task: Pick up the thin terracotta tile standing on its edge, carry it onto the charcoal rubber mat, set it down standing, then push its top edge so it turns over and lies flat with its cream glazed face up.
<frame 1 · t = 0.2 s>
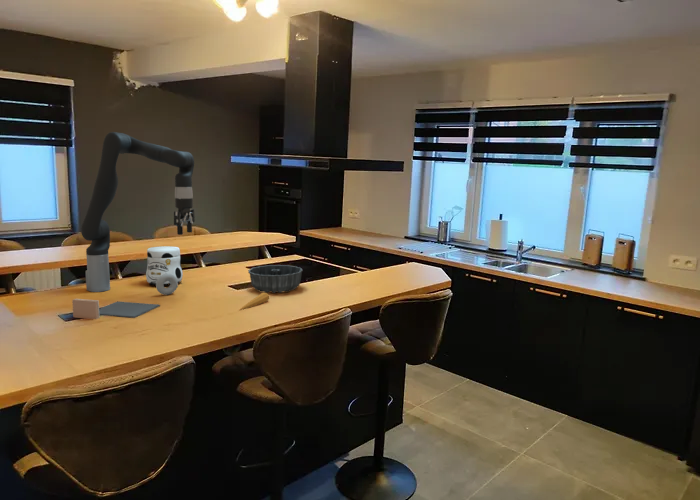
hand: (184, 233, 226), 29 cm above the counter, tool pointing down, fingers open, 8 cm apart
milk container: (164, 284, 254), on the counter
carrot: (252, 306, 218), on the counter
mat: (125, 309, 207), on the counter
bundt pan: (275, 289, 248), on the counter
donut: (167, 295, 233), on the counter
tile: (86, 317, 196), on the counter
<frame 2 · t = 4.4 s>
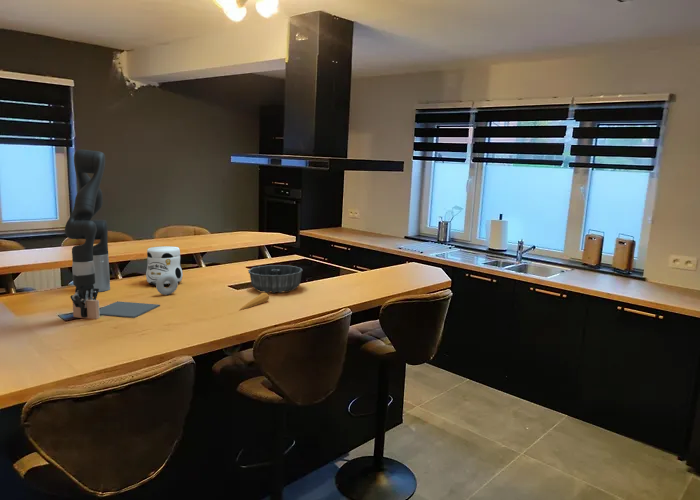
hand: (86, 316, 196), 1 cm above the counter, tool pointing down, fingers closed on tile
tile: (86, 317, 196), on the counter, touching gripper
everything else where it was.
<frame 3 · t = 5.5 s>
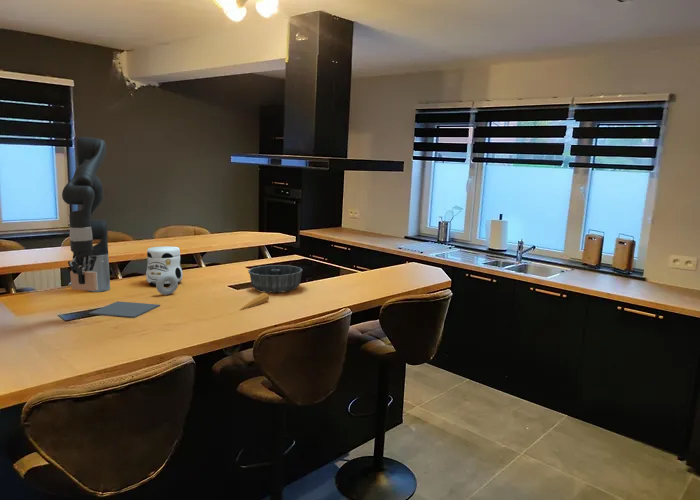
hand: (84, 283, 194), 14 cm above the counter, tool pointing down, fingers closed on tile, 1 cm apart
tile: (84, 289, 194), point 11 cm above the counter, touching gripper
everything else where it was.
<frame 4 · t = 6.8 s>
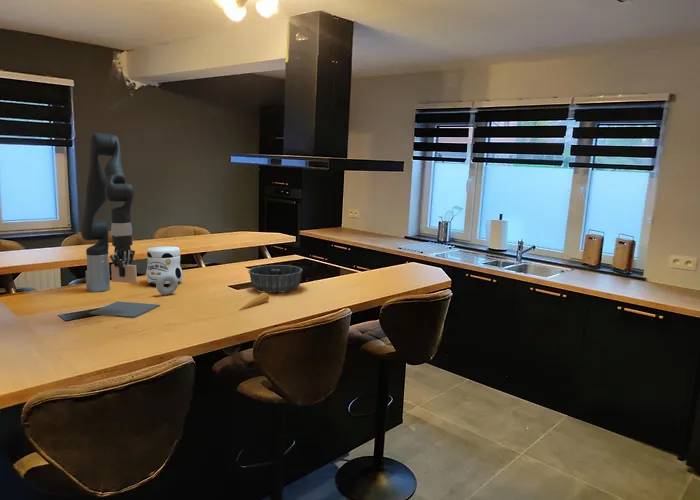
hand: (124, 276, 205), 14 cm above the counter, tool pointing down, fingers closed on tile, 1 cm apart
tile: (124, 281, 205), point 12 cm above the counter, touching gripper
everything else where it was.
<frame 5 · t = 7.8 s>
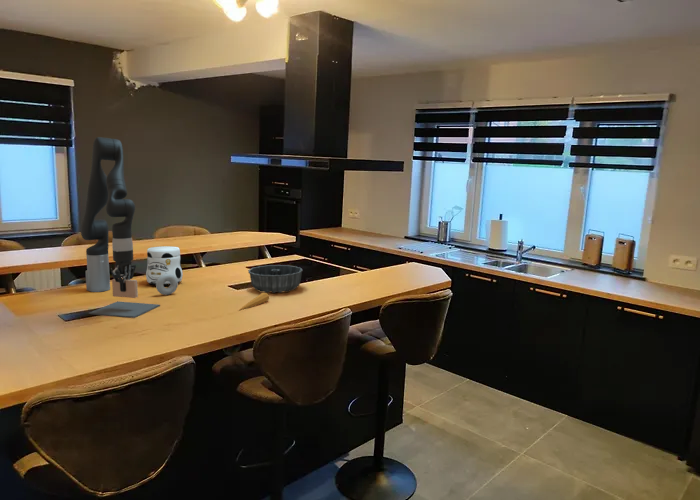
hand: (124, 290, 206), 8 cm above the counter, tool pointing down, fingers closed on tile, 1 cm apart
tile: (125, 296, 206), point 6 cm above the counter, touching gripper
everything else where it was.
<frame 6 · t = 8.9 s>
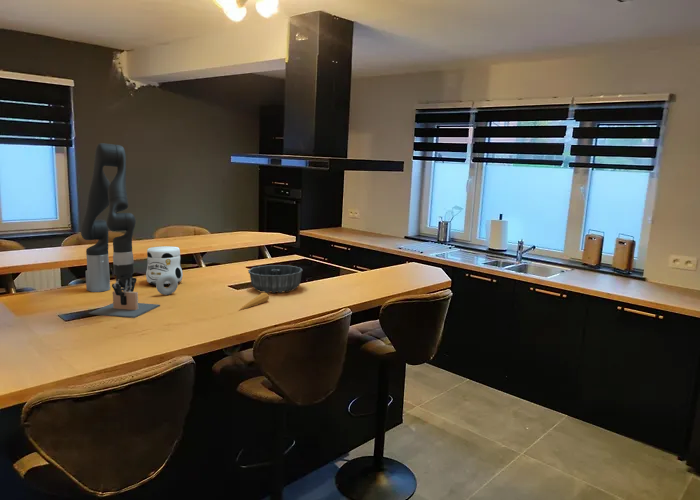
hand: (125, 303, 206), 3 cm above the counter, tool pointing down, fingers closed on tile, 2 cm apart
tile: (125, 308, 207), point 1 cm above the counter, touching gripper, mat
everything else where it was.
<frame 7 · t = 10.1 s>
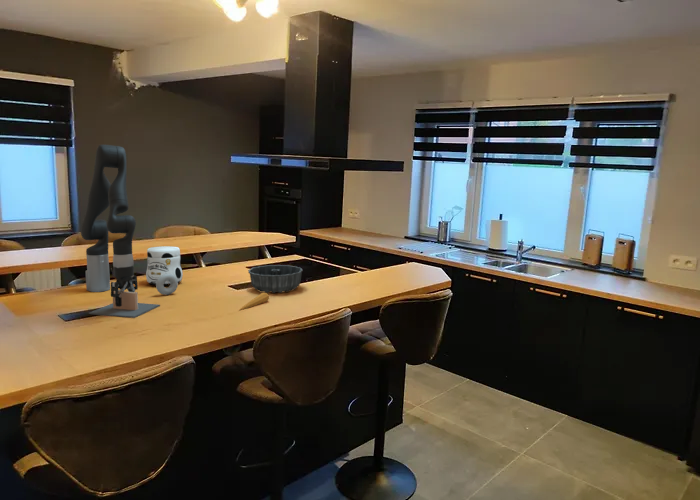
hand: (125, 303, 206), 3 cm above the counter, tool pointing down, fingers open, 8 cm apart
tile: (125, 308, 207), point 1 cm above the counter, touching mat
everything else where it was.
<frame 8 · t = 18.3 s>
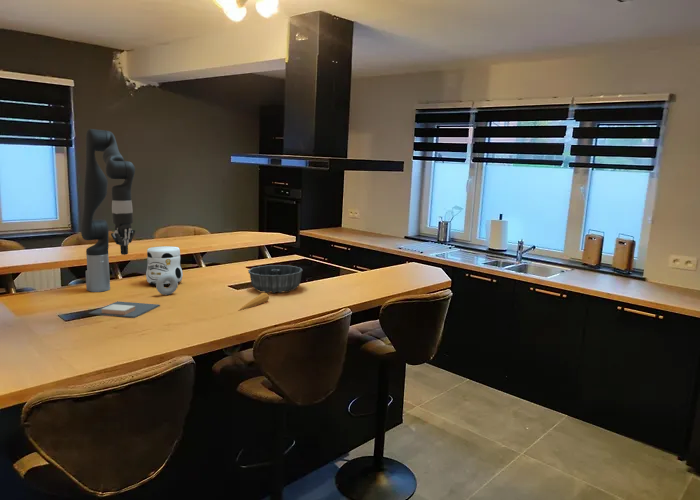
hand: (124, 254, 204), 23 cm above the counter, tool pointing down, fingers closed
tile: (124, 307, 205), point 1 cm above the counter, tilted 90°, touching mat
everything else where it was.
at the end: tile tilted 90°; tile inside the target area on the mat (1.2 cm from its centre), point 1.5 cm above the mat's base; the gripper is holding nothing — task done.
